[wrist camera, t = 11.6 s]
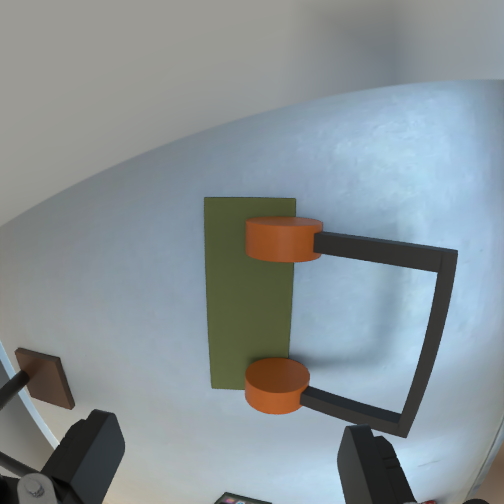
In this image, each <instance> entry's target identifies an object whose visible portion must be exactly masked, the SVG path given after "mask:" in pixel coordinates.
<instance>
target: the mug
mask: <svg viewBox="0 0 504 504" xmlns="http://www.w3.org/2000/svg"><path fill="white" fill-rule="evenodd" d="M421 504H436V502H435V501H427V502H424V503H421Z"/></svg>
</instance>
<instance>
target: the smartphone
mask: <svg viewBox="0 0 504 504" xmlns="http://www.w3.org/2000/svg"><path fill="white" fill-rule="evenodd" d="M215 504H272V503H268V502H263V501H259V500H254V499H250V498H246V497H242V496H238V495H234V494H230V493H227V492H225V493H224V494H223V495H222V496H221V497H220V499H219V500H218V501H217V502H216V503H215Z"/></svg>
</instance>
